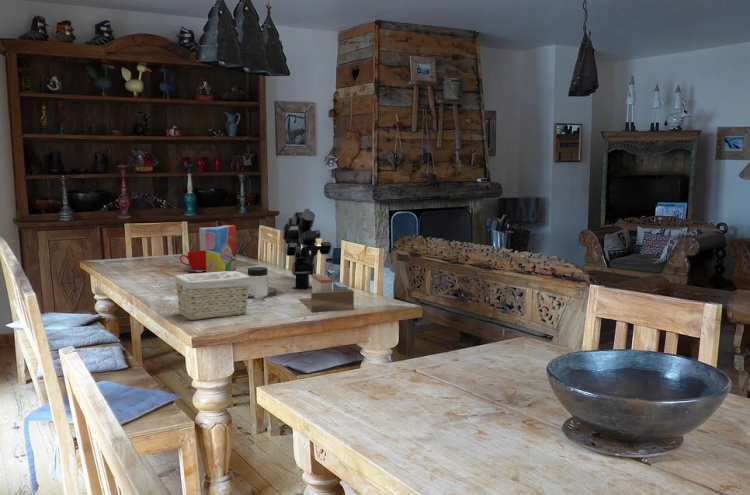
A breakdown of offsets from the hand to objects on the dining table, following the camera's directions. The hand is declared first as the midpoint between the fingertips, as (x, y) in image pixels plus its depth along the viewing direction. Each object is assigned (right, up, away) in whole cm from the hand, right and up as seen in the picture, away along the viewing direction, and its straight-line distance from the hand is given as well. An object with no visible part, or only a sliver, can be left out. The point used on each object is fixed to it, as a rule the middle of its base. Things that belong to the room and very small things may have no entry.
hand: (312, 264), depth 278 cm
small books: (+14, -16, -22) cm, 31 cm away
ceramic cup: (-65, -6, +63) cm, 90 cm away
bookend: (+4, -16, -26) cm, 31 cm away
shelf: (+7, -16, -18) cm, 25 cm away
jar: (-23, -14, 0) cm, 26 cm away
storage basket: (-33, -18, -32) cm, 50 cm away
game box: (-43, -11, +22) cm, 49 cm away
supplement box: (-69, +1, +113) cm, 132 cm away
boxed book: (+5, -14, -14) cm, 21 cm away
